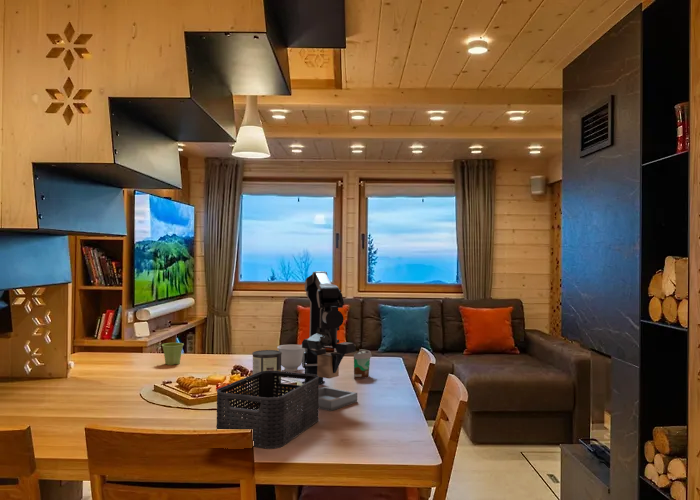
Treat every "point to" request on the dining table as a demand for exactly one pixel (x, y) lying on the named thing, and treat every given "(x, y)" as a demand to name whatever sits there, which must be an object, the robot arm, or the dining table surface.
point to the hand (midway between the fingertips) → (327, 371)
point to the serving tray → (335, 398)
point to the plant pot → (172, 353)
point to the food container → (361, 364)
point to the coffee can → (267, 361)
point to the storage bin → (269, 407)
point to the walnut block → (326, 366)
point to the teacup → (291, 356)
